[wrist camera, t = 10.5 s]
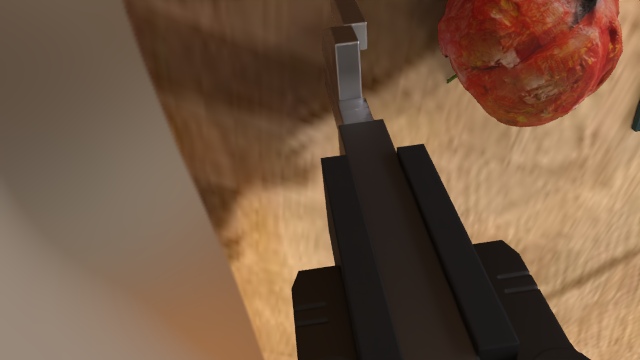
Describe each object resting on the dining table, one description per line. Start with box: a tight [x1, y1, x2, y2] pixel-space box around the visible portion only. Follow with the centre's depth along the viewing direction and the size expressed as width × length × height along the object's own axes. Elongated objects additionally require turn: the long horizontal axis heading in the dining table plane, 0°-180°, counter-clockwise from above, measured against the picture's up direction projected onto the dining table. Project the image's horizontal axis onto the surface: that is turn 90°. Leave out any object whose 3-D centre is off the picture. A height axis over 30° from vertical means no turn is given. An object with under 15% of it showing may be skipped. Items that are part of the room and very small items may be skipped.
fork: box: [321, 0, 480, 360], centre depth 15 cm, size 6×2×20 cm, turn 5°
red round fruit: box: [438, 0, 623, 127], centre depth 22 cm, size 7×7×10 cm
